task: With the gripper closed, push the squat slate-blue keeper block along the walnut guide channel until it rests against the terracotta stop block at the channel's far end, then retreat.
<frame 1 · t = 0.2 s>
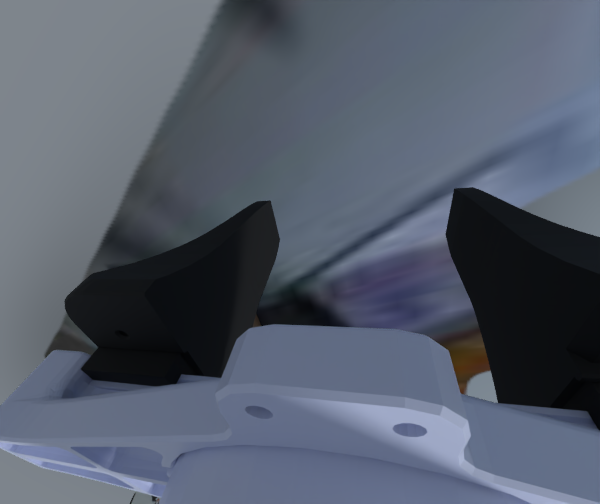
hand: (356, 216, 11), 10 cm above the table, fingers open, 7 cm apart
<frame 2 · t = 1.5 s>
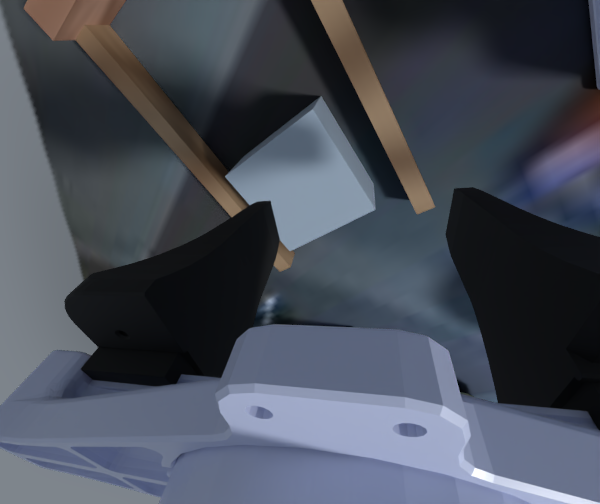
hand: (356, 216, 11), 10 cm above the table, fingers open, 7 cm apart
keeper: (308, 168, 21), on the table
track: (275, 121, 19), on the table
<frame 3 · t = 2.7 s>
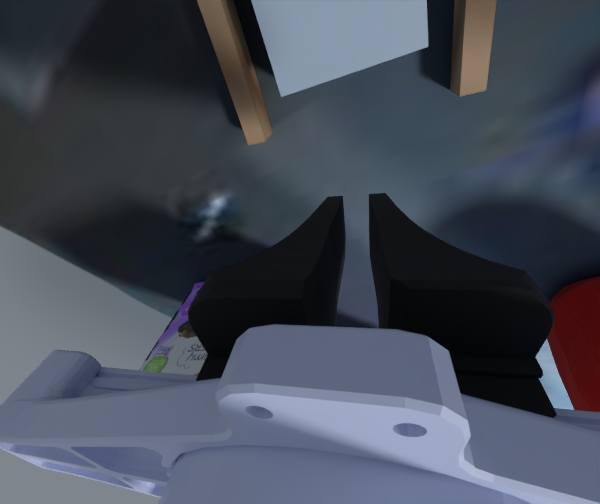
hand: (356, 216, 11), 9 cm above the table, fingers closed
candy box: (260, 289, 30), on the table
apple: (590, 294, 23), on the table
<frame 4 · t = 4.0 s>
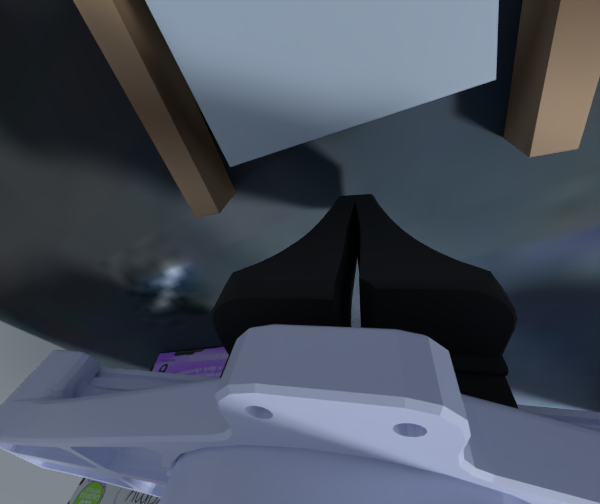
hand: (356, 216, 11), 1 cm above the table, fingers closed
candy box: (239, 362, 24), on the table
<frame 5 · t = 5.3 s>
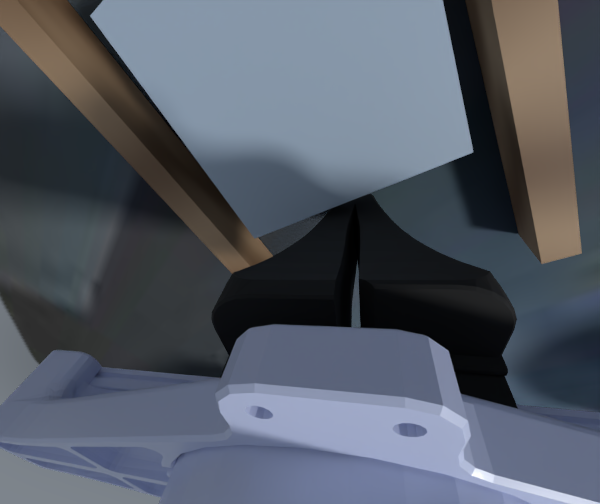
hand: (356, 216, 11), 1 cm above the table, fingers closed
keeper: (310, 69, 10), on the table, touching gripper
track: (293, 83, 10), on the table
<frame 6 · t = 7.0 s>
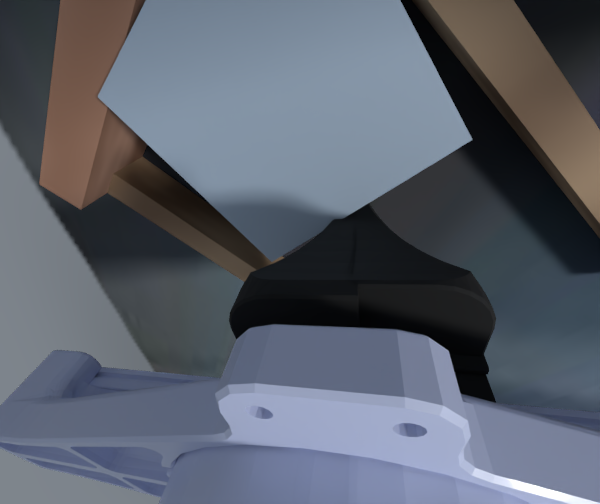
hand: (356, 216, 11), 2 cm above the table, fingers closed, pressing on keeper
keeper: (299, 91, 10), on the table, touching gripper, track
track: (379, 212, 13), on the table
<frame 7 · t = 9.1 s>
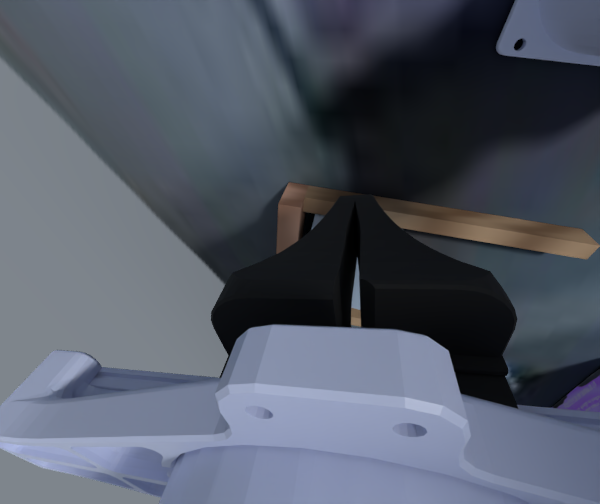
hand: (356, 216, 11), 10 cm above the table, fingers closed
keeper: (347, 244, 25), on the table
track: (409, 270, 25), on the table
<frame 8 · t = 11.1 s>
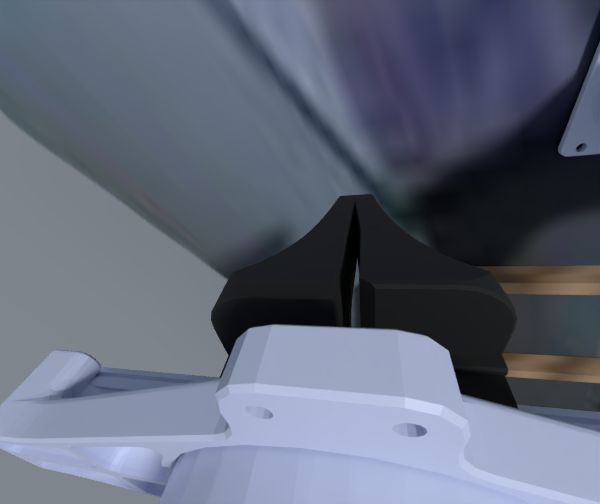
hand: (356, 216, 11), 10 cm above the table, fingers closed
track: (501, 318, 27), on the table
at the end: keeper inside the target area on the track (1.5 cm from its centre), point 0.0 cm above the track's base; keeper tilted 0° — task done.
